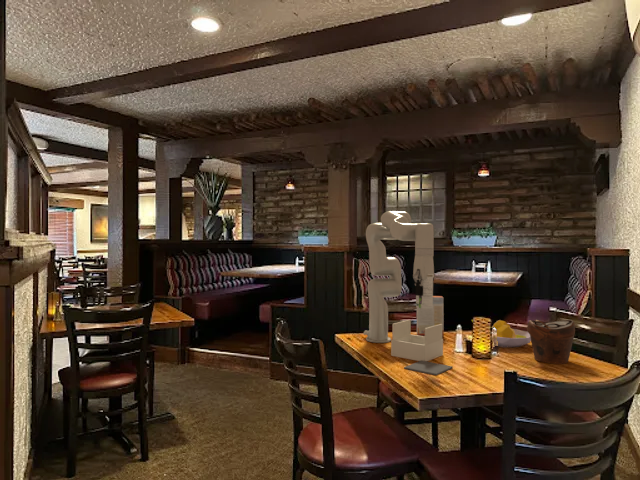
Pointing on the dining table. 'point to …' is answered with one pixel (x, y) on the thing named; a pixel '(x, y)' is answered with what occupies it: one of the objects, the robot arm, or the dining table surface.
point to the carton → (416, 342)
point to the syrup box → (426, 293)
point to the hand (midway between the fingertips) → (424, 294)
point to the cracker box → (431, 315)
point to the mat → (428, 367)
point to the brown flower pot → (551, 340)
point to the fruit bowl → (510, 335)
